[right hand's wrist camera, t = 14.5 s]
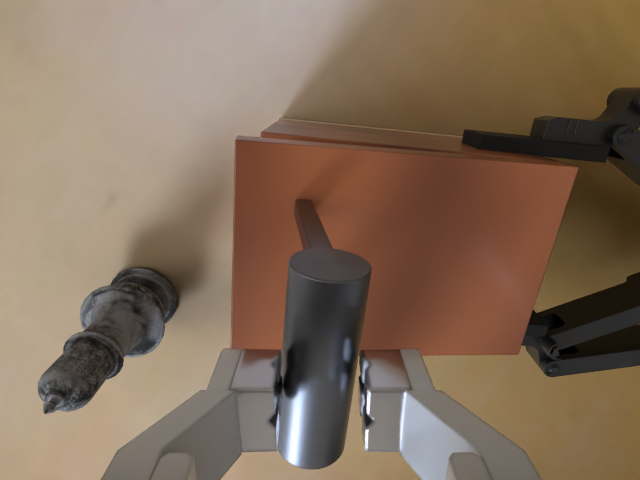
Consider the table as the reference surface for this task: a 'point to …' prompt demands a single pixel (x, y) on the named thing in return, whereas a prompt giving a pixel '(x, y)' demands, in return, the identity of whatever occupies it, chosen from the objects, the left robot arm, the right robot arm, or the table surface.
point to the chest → (378, 138)
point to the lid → (381, 264)
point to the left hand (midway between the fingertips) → (450, 231)
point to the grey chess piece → (108, 337)
